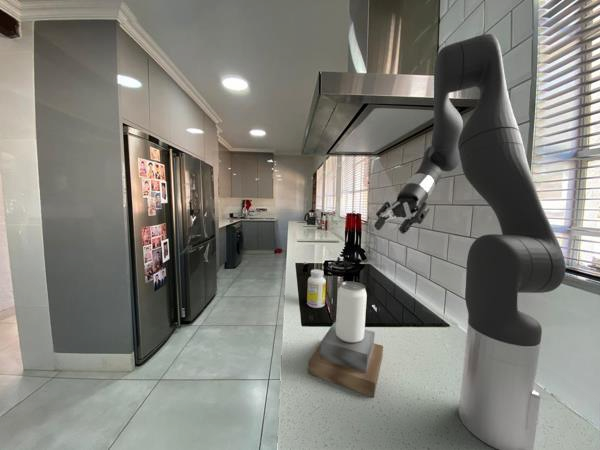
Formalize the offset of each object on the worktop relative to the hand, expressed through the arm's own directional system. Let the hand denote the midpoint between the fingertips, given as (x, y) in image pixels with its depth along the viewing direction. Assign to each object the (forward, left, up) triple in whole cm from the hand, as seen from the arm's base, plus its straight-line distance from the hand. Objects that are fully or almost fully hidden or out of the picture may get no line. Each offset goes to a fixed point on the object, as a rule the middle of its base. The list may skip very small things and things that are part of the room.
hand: (388, 229), depth 68 cm
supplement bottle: (+24, -9, -31) cm, 40 cm away
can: (+5, +19, -24) cm, 31 cm away
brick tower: (+5, +19, -31) cm, 36 cm away
